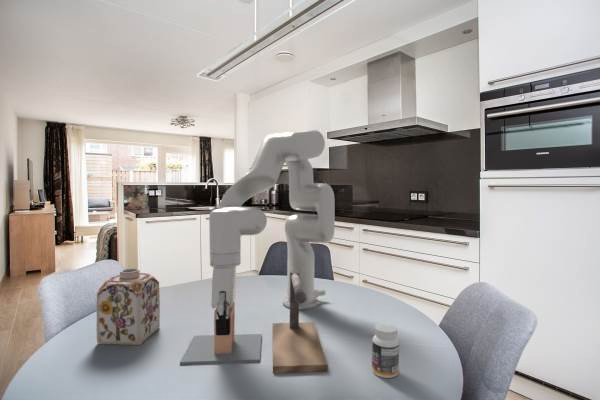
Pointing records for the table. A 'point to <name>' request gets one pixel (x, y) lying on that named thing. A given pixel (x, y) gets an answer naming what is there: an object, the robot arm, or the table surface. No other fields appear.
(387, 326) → the pill bottle
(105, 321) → the decorative jar
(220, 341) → the link
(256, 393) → the table surface
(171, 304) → the table surface
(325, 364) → the stand
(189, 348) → the mat
